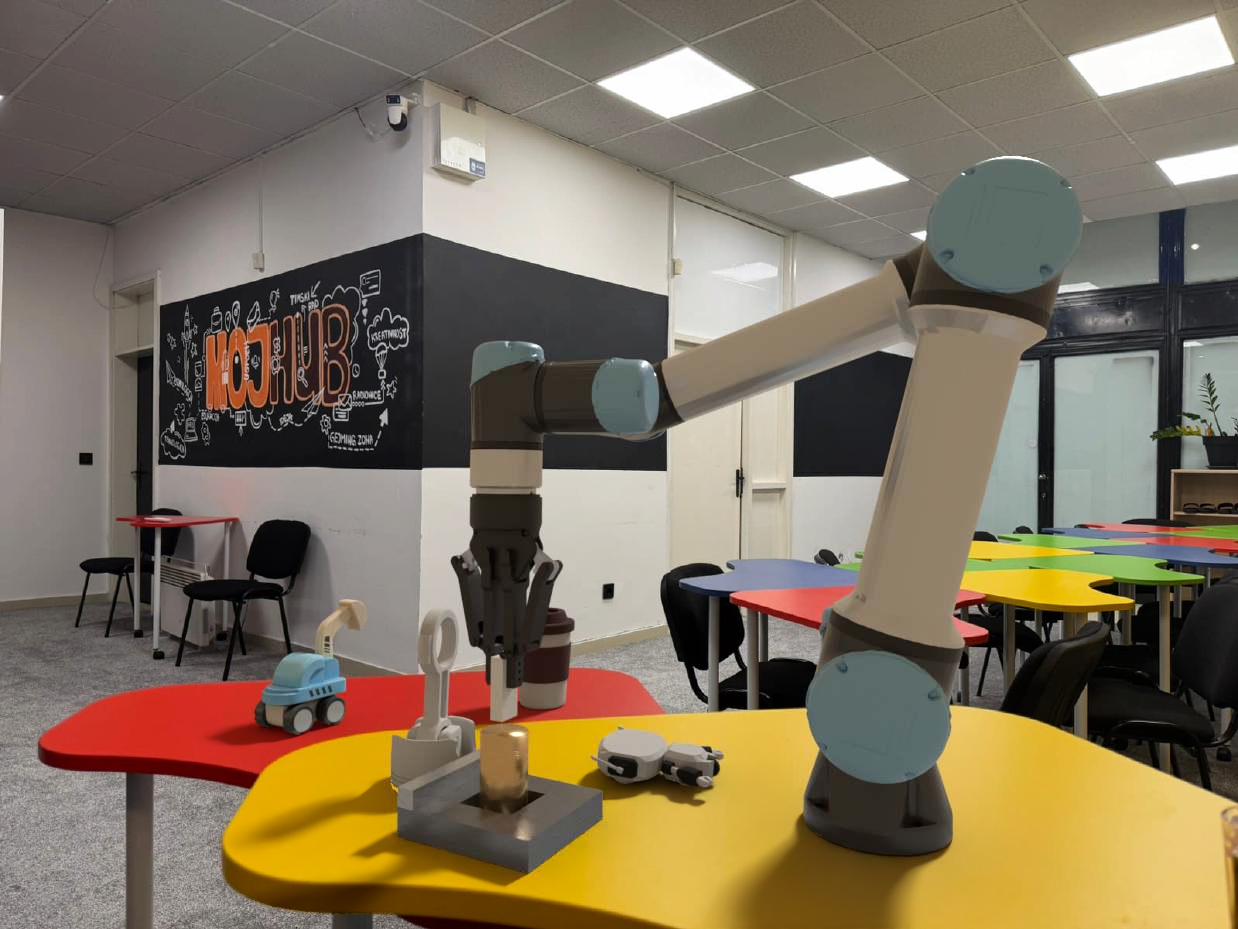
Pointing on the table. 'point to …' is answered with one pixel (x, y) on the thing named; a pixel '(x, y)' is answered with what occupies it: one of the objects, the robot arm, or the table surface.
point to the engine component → (433, 707)
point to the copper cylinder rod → (504, 768)
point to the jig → (494, 816)
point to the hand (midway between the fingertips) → (503, 717)
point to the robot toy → (655, 758)
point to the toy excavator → (310, 679)
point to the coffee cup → (548, 664)
